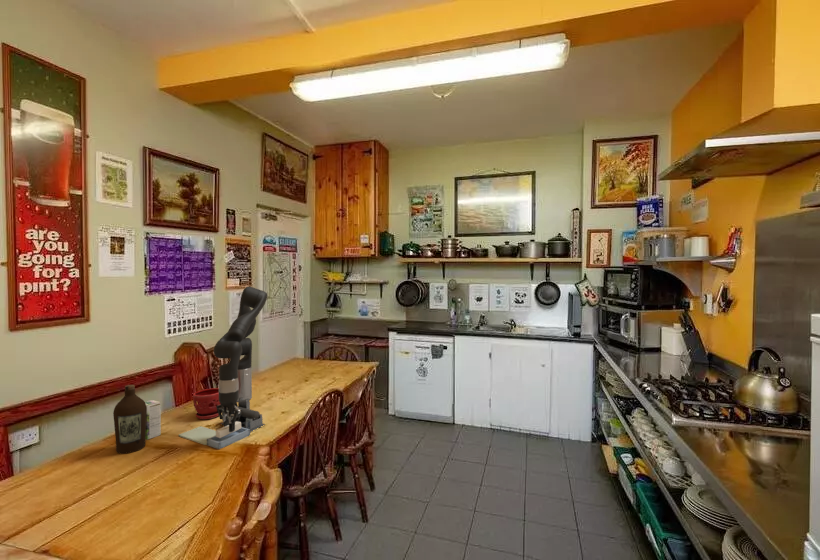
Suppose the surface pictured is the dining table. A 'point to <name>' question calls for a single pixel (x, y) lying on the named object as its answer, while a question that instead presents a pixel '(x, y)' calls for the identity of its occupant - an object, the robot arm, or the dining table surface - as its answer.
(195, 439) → the mat
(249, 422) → the clamp rack
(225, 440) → the tray
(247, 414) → the dark grey cylinder
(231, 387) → the robot arm
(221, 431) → the bar
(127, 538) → the dining table surface
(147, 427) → the syrup box
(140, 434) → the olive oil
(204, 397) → the plant pot
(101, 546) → the dining table surface
